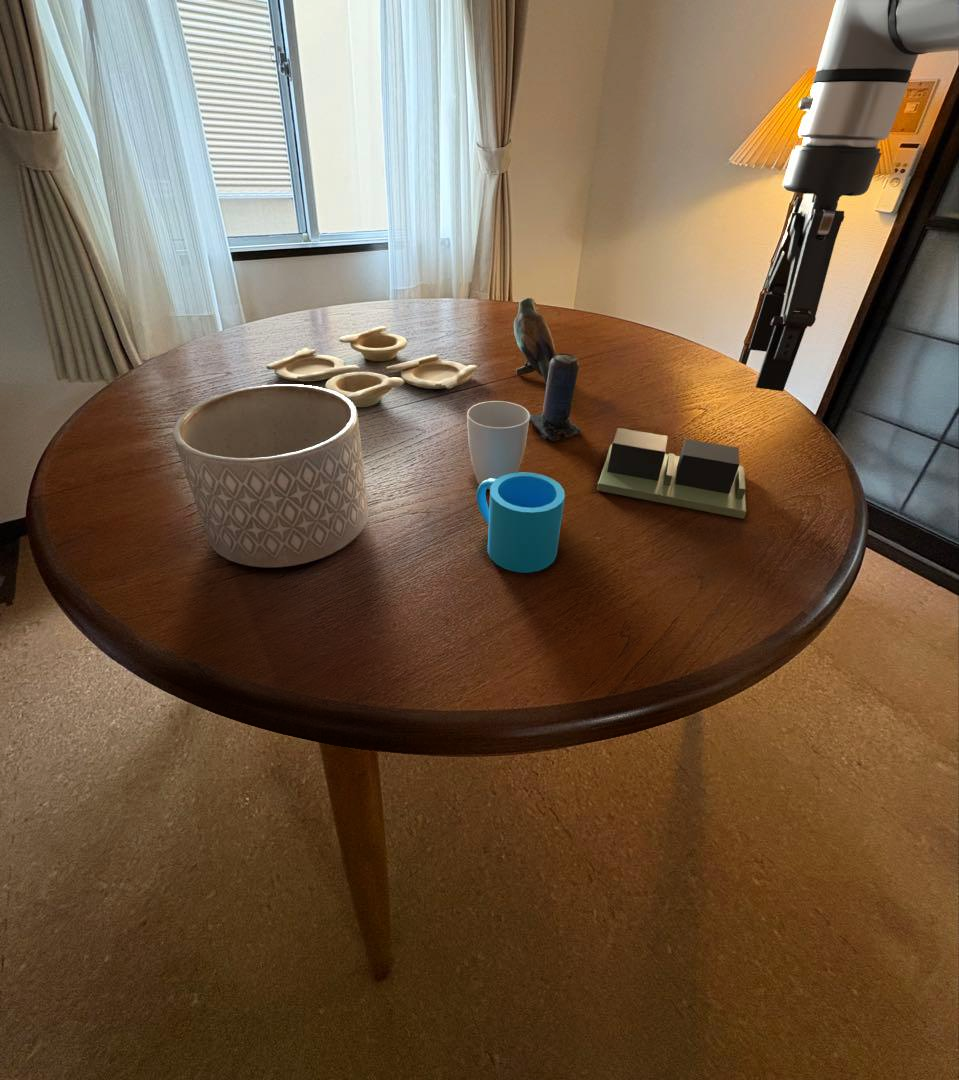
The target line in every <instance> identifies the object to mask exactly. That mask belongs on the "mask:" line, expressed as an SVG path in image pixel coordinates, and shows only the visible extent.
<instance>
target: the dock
mask: <svg viewBox="0 0 959 1080" xmlns="http://www.w3.org/2000/svg"><path fill="white" fill-rule="evenodd" d="M668 439H669V436H668V435H665V434H664V435H663V434H658V433H653V432H645V431H640V430H633V429H628V428H621V427H617V428H616V431H615V435H614V437H613V440H612V444H610V446H609V448H608V452H607V455H606V458H605V461H604V464H603V467H602V470H601V474H600V475H599V476H600V477H599V480H598V482H597V487H596V491H599V492H603V493H608V494H613V495H619V496H623V497H629V498H634V499H639V500H645V501H650V502H655V503H659V504H665V505H670V506H674V507H675V506H676V507H680V508H685V509H690V510H695V511H699V512H700V511H701V512H705V513H712V514H716V515H722V516H727V517H730V518H731V517H732V518H736V519H742V520H743V519H745V517H746V513H747V503H746V491H747V488H746V475H745V474H746V473H745V466H744V465H740V464H739V467H738V470H737V473H736V476H735V479H734V482H733V484H732V487H731V490H730V493H729V494H726V493H721V492H715V491H710V490H705V489H699V488H694V487H689V486H683V485H678V484H675V481H676V472H677V465H678V462H679V458H680V455H675V453H671V452H669V453H668V454H667V446H668Z"/></svg>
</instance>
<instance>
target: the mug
mask: <svg viewBox="0 0 959 1080" xmlns="http://www.w3.org/2000/svg"><path fill="white" fill-rule="evenodd" d="M489 486H491V487H490V489H489V505H488V502H487V496H486V493H487V490H488V489H487V488H488V487H489ZM565 494H566V493H565V489H564V488H563V487H562V485H561V484H560V482H558V481H556V480H555V479H554V478H552V477H549V476H546V475H545V474H541V473H537V472H531V471H530V472H529V471H528V472H527V471H520V472H519V471H518V473H510V474H507V475H504V476H501V477H499V478H498V479H494V478H490V479H488V480H485V481H483V482H482V483H481V484H480V485H478V487H477V489H476V495H475V497H476V504H477V507H478V510H479V512H480V514H481V516H482V518H483V519H484V521H485V522H486V523H487V524H488V529H487V530H488V531H487V554H488V555H489V558H490V559H491V560H492V561H493V563H495V564H496V565H497V566H499V567H501V568H502V569H505V570H507V571H511V572H515V573H526V574H528V573H534V572H535V573H536V572H539V571H542V570H544V569H547V568H549V566H551V565H552V564H553V563H554V562H555V561H556V557H557V555H558V548H559V540H560V535H561V534H560V533H561V526H562V520H563V513H564V505H565V497H566V495H565Z"/></svg>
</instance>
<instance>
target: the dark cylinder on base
mask: <svg viewBox="0 0 959 1080" xmlns="http://www.w3.org/2000/svg"><path fill="white" fill-rule="evenodd" d="M579 369H580V364H579V361H578V356H576V355H573V354H570V353H563V352H562V353H556V354H555V355H554V357H553V358H552V359H551V361H550V365H549V372H548V378H547V385H546V384H545V385H546V386H545V392H544V400H543V406H542V412H541V413H538V414H537V413H536V414H530V419H529V424H532V425H533V426H535V428H536V429H537V431H538V432H539V434H541V435H540V437H541V439H543V440H546V439H547V440H548V441H552V443H553V442H556V441H558V440H561V438H562V436H560V434H559V433H561V434H564V436H565V437H572V436H574V435H575V434H576V435H577V434H580V433H581V429H580V428H579V425H576V424H575V422H573V421H572V420H571V419H570V415H571V411H572V407H573V402H574V397H575V391H576V386H577V379H578V373H579Z"/></svg>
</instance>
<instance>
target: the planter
mask: <svg viewBox="0 0 959 1080" xmlns="http://www.w3.org/2000/svg"><path fill="white" fill-rule="evenodd" d="M172 438H173V441H174V444H175V447H176V451H177V452H178V453H177V454H178V456H179V459H180V462H181V464H182V468H183V471H184V474H185V476H186V479H187V483H188V485H189V488H190V491H191V494H192V497H193V501H194V503H195V506H196V509H197V511H198V515H199V518H200V521H201V524H202V527H203V530H204V532H205V535H206V538H207V541H208V544H209V546H211V548H212V550H213V551H215V553H217V554H218V555H219V556H221V557H223V558H225V559H226V560H228V561H230V562H233V563H236V564H239V565H242V566H243V565H244V566H249V567H254V568H255V567H256V568H284V567H292V566H293V567H294V566H298V565H303V564H308V563H310V562H311V563H312V562H314V561H317V560H320V559H323V558H325V557H327V556H330V555H332V554H334V553H336V552H338V551H339V550H342V549H343V548H345V547H346V546H347V545H349V544H350V543H351V542H352V541H354V540H355V539H356V538H357V537H358V536H359V535H360V533H361V532H362V531H363V530H364V529H365V526H366V524H367V522H368V519H369V514H370V512H369V504H368V495H367V485H366V484H367V483H366V477H365V469H364V459H363V451H362V450H363V449H362V441H361V432H360V424H359V415H358V410H357V407H355V405H354V404H353V403H352V402H351V401H350V400H349V399H347V398H346V397H344V396H343V395H341V394H339V393H337V392H334V391H331V390H328V389H326V388H325V387H324V388H323V387H319V386H314V385H313V386H312V385H304V384H267V385H258V386H252V387H251V386H250V387H244V388H240V389H236V390H231V391H228V392H225V393H221V394H218V395H215V396H212V397H210V398H207V399H205V400H203V401H201V402H198V403H197V404H195V405H193V406H192V407H190V408H189V409H187V410H186V411H185V412H183V414H181V415H180V417H178V418H177V420H176V421H175V423H174V425H173V427H172Z"/></svg>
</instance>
